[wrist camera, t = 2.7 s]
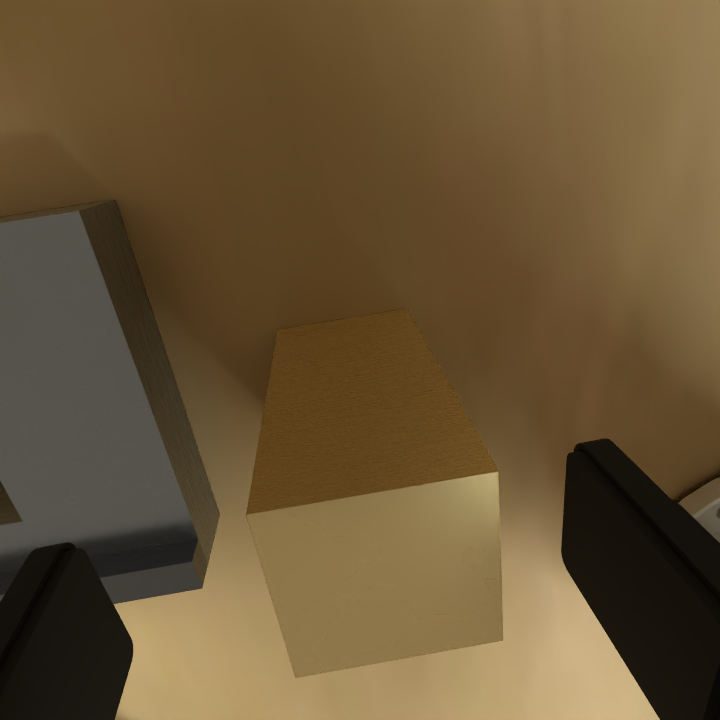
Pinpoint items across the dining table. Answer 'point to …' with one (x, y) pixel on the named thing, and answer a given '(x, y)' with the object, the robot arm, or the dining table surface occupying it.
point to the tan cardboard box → (372, 500)
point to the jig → (93, 412)
